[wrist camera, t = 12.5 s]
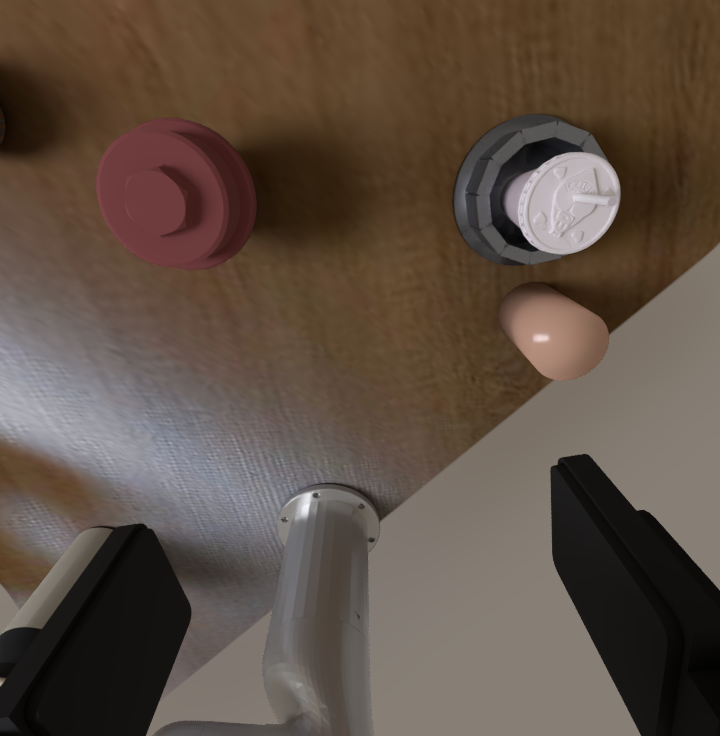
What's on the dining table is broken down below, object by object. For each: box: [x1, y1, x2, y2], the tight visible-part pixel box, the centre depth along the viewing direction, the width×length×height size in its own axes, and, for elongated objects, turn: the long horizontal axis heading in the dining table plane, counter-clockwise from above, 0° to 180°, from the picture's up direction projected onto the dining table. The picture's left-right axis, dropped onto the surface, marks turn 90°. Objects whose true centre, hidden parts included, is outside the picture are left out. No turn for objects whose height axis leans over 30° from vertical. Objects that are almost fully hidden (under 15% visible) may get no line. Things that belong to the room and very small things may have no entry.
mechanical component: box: [96, 118, 257, 270], centre depth 32 cm, size 12×10×10 cm
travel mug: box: [0, 528, 113, 686], centre depth 47 cm, size 8×8×18 cm
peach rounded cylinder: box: [498, 282, 609, 380], centre depth 38 cm, size 6×6×9 cm
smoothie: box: [500, 152, 620, 254], centre depth 30 cm, size 6×6×14 cm
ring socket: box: [453, 114, 609, 265], centre depth 35 cm, size 12×12×5 cm
